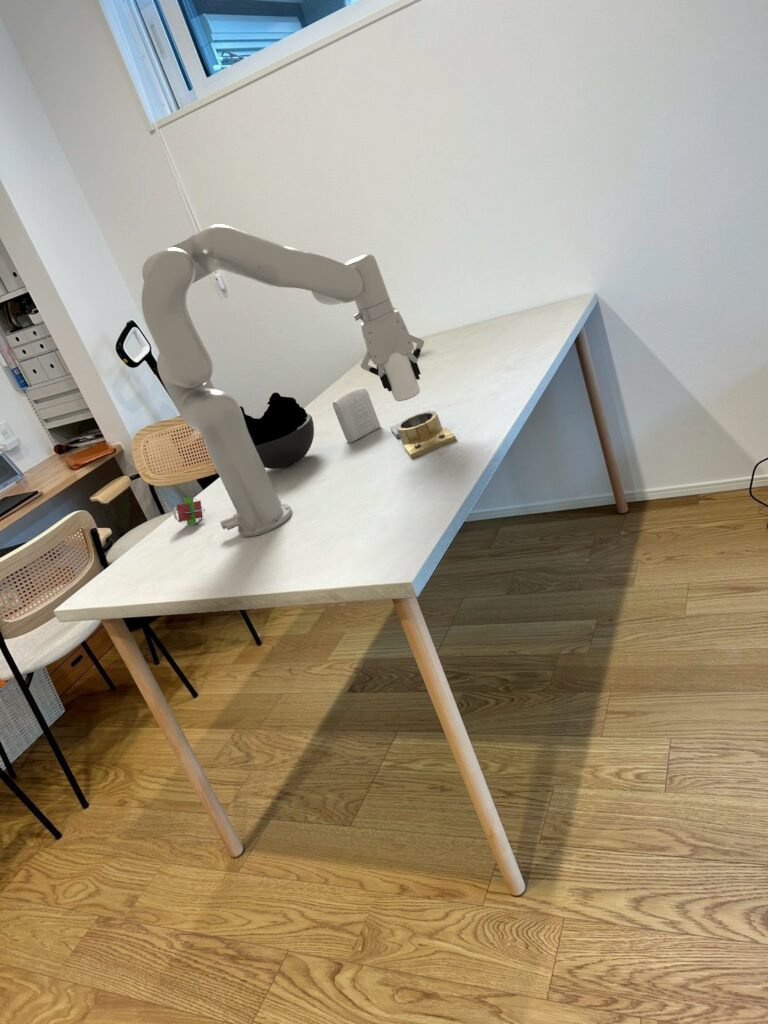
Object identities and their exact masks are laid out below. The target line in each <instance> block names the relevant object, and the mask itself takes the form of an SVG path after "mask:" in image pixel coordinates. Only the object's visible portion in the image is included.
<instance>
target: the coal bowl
mask: <svg viewBox="0 0 768 1024" xmlns="http://www.w3.org/2000/svg"><path fill="white" fill-rule="evenodd" d="M268 400H269V401H268V402H267V405H268V406H267V408H266V410H265V411H264V412H263V415H262V416H260V417H258V418H257V417H255V418H254V417H253V416H250V415H249V414H246V413H245V408H244V407H243V406H241V405H239V406H240V408H241V411H242V414H243V416H244V420H245V423H246V426H247V429H248V432H249V434H250V437H251V439H252V441H253V443H254V446H255V448H256V450H257V452H258V454H259V456H260V459H261V461H262V463H263V465H264V467H265V469H270V470H281V469H287V468H290V467H292V466H294V465H296V464H297V463H299V462H300V461H301V460H302V459H303V458H304V457H305V456H306V455H307V454H308V452H309V451H310V449H311V448H312V444H313V442H314V435H315V427H314V424H315V423H314V419H313V416H312V415H311V414H309V413H307V411H306V409H305V408H304V407H302V406H300V404H299V403H298V402H297V400H296V399H295V398H294V397H291V396H282V395H280V393H279V392H272V394H271V395H270V397H269V398H268Z"/></svg>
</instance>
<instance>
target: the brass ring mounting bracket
mask: <svg viewBox="0 0 768 1024" xmlns="http://www.w3.org/2000/svg"><path fill="white" fill-rule="evenodd" d="M389 428H390V431H391V433H392V434H393V435H394V437H395V438H396V439H397V440H398V439H400V441H401V443H402V444H403V445H402V446H403V449H404V450H405V452H406V453H407V454H408V456H409V457H410V459H411V460H414V459H416V458H418V457H421V456H422V455H425V454H427V453H430V452H433V451H434V450H437V449H441V448H443V447H445V446H447V445H450V444H453V443H454V442H457V441H458V440H457V438H456V435H455V434H454V433H453V432H452V431H451V430H450V429H449V428H448V427H447V426H446V427H444V428H443V427H442V423H441V421H440V419H439V415H438V413H437V412H436V411H434V410H433V411H430V410H428V411H424V412H423V411H422V412H420V413H416V414H414V415H411V416H409V417H406V418H405V419H403V420H402V421H400V422H399V423H396V424H394V425H392V426H389ZM413 458H414V459H413Z"/></svg>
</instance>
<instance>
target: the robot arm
mask: <svg viewBox="0 0 768 1024" xmlns="http://www.w3.org/2000/svg"><path fill="white" fill-rule="evenodd" d="M219 270H222V271H226V272H228V273H231V274H234V275H239V276H241V277H244V278H247V279H250V280H253V281H255V282H258V283H260V284H264V285H267V286H272V287H277V288H291V289H293V288H294V289H301V290H306V291H310V292H311V294H312V297H314V299H315V300H316V301H317V302H318V303H320V304H322V305H328V306H329V305H330V306H332V305H334V306H335V305H341V304H349V303H353V302H355V305H356V307H357V313H356V314H354V315H353V318H354V320H355V321H362V322H361V323H360V326H361V327H360V328H361V333H362V336H363V340H364V344H365V347H366V350H367V351H366V352H365V355H364V357H363V358H362V362H361V364H360V368H361V369H363V370H365V371H366V372H369V373H371V374H373V375H375V376H378V377H379V380H380V381H381V384H382V387H383V389H384V390H385V389H387V391H388V393H390V392H392V391H391V390H392V389H391V386H390V384H389V381H388V378H387V376H386V375H385V373H384V364H386V363H387V362H389V357H390V356H391V355H392V354H393V353H400V354H401V355H402V356H405V355H407V356H408V357H409V360H410V363H411V366H412V368H413V371H414V374H415V377H416V379H417V381H419V380H421V378H420V375H422V374H421V370H420V367H419V364H418V360H419V357H420V355H421V351H422V350H423V347H424V345H425V340H423V339H422V338H419V337H417V336H415V335H411V334H410V332H409V330H408V327H407V326H406V323H405V321H404V319H403V317H402V315H401V314H400V311H399V310H398V309H397V310H394V309H393V307H394V306H393V304H391V303H392V301H391V299H390V295H389V293H388V290H387V288H386V287H387V286H386V284H385V282H384V278H383V276H382V273H381V270H380V268H379V265H378V262H377V260H376V258H375V256H374V255H373V254H371V253H370V254H369V253H366V254H362V255H359V256H358V257H354V258H351V259H350V260H348V261H346V262H345V263H343V262H340V261H338V260H335V259H333V258H329V257H326V256H323V255H320V254H316V253H312V252H308V251H304V250H301V249H297V248H294V247H290V246H285V245H281V244H279V243H276V242H273V241H270V240H267V239H265V238H262V237H259V236H257V235H254V234H251V233H249V232H246V231H243V230H241V229H238V228H234V227H232V226H229V225H225V224H213V225H210V226H208V227H206V228H203V229H201V230H199V231H198V232H196V233H194V234H192V235H190V236H189V237H187V238H185V239H183V240H181V241H179V242H176V243H175V244H172V245H170V246H168V247H165V248H164V249H161V250H159V251H158V252H155V253H153V254H151V255H150V256H149V257H148V258H146V260H145V262H144V263H143V265H142V271H141V273H142V276H141V277H142V279H143V285H142V286H143V287H142V290H141V310H142V315H143V318H144V319H143V320H144V322H145V323H146V327H147V329H148V331H149V333H150V335H151V337H152V339H153V341H154V344H155V346H156V348H157V350H158V351H159V353H158V355H157V359H156V361H157V362H156V365H157V366H156V367H157V372H158V375H159V377H160V379H161V382H162V383H163V386H164V387H165V390H166V391H167V393H168V395H169V397H170V398H171V401H172V402H173V405H174V406H175V408H176V410H177V411H178V413H179V416H181V419H182V420H183V421H184V423H185V424H186V425H187V426H189V428H191V429H193V430H195V431H197V432H199V433H200V435H201V437H202V439H203V442H204V445H205V447H206V450H207V453H208V455H209V458H210V461H211V463H212V464H213V465H214V468H215V470H216V472H217V474H218V476H219V478H220V480H221V483H222V484H223V486H224V488H225V491H226V492H227V494H228V496H229V498H230V500H231V502H232V505H233V506H234V509H235V512H236V513H234V514H233V515H232V517H230V518H225V519H223V520H220V526H221V528H222V530H225V529H226V530H227V531H230V530H233V529H235V528H236V527H237V532H238V533H239V535H240V536H241V537H247V538H251V537H255V536H259V535H263V534H266V533H267V532H270V531H272V530H274V529H276V528H278V527H279V526H281V525H283V523H285V522H286V521H287V520H288V519H290V517H291V516H292V513H293V510H292V508H291V505H289V504H286V503H281V501H280V497H279V496H278V493H277V492H276V490H275V487H274V485H273V483H272V481H271V479H270V477H269V474H268V471H267V470H266V468H265V467H264V465H263V463H262V461H261V459H260V456H259V454H258V452H257V450H256V448H255V446H254V443H253V441H252V439H251V437H250V434H249V432H248V429H247V426H246V423H245V420H244V416H243V414H242V411H241V408H240V406H241V405H240V404H239V403H238V402H237V400H236V399H235V398H234V397H233V396H232V395H231V394H229V393H227V392H226V391H223V390H221V389H220V390H219V389H216V387H215V386H214V384H213V382H212V380H211V378H212V376H213V372H214V363H213V360H212V358H211V355H210V354H209V351H208V350H207V348H206V346H205V345H204V343H203V341H202V339H201V336H200V334H199V333H198V331H197V328H196V327H195V325H194V323H193V320H192V318H191V316H190V313H189V310H188V306H187V295H188V291H189V289H190V288H191V286H192V284H194V283H196V282H199V281H200V280H202V279H204V278H205V277H207V276H209V275H211V274H213V273H214V272H217V271H219ZM414 343H415V344H416V345H415V344H414ZM414 345H415V346H414ZM392 350H393V351H392ZM370 361H371V362H372V363H373V364H374V365H375V366H376V367H374V366H371V365H369V363H370Z"/></svg>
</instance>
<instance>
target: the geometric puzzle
mask: <svg viewBox="0 0 768 1024" xmlns="http://www.w3.org/2000/svg"><path fill="white" fill-rule="evenodd" d="M172 512H173V517H174V519H175V520H176V521H177V522H179V523H181V524H184V525H185V522H186V525H187V524H188V525H187V526H197V525H198V522H200V520H201V519H203V518H204V514H205V512H206V509H205V507H204V506H202V502H201V500H199V499H196V498H194V497H182V498H181V502H179V504H176V505H174V507H173V511H172ZM202 517H203V518H202ZM200 518H201V519H200ZM191 524H193V525H191ZM194 524H195V525H194Z"/></svg>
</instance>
